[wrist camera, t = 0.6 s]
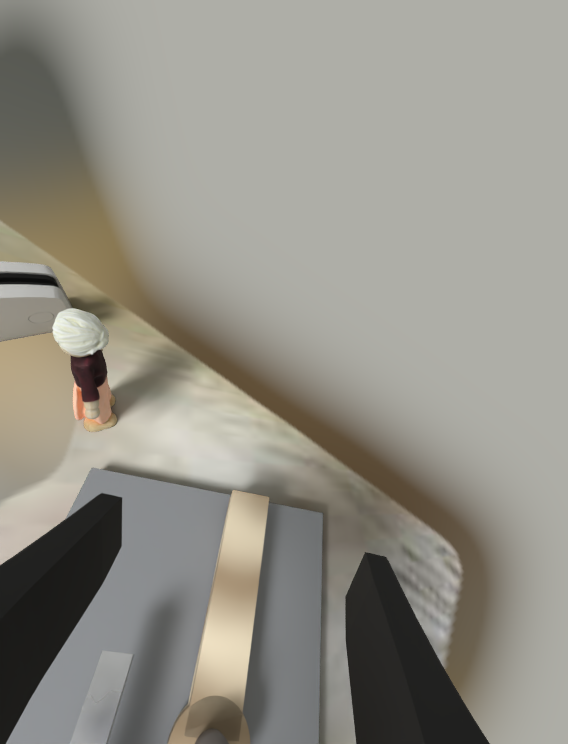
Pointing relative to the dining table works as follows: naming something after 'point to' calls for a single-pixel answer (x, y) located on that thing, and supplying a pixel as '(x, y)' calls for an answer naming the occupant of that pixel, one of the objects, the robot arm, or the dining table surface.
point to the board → (188, 619)
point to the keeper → (103, 699)
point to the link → (227, 631)
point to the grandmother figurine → (87, 366)
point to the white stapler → (29, 300)
